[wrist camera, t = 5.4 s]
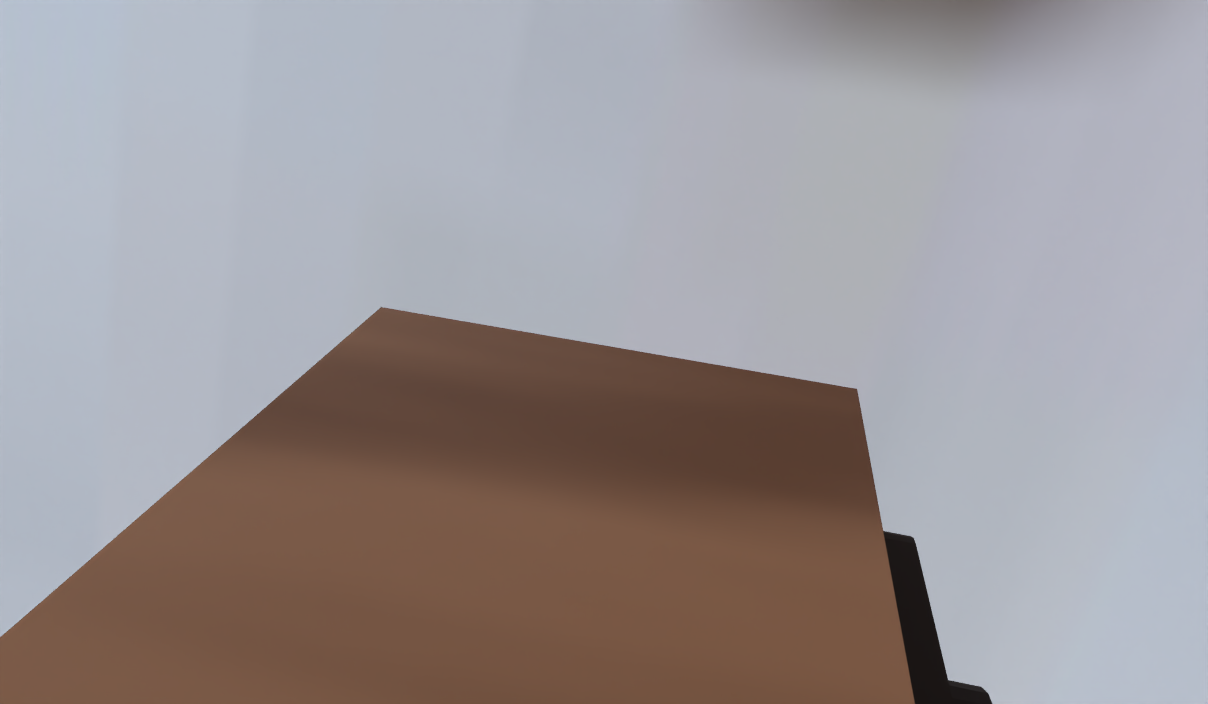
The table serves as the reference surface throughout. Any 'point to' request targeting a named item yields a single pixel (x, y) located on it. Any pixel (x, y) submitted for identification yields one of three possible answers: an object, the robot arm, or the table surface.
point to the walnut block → (495, 542)
